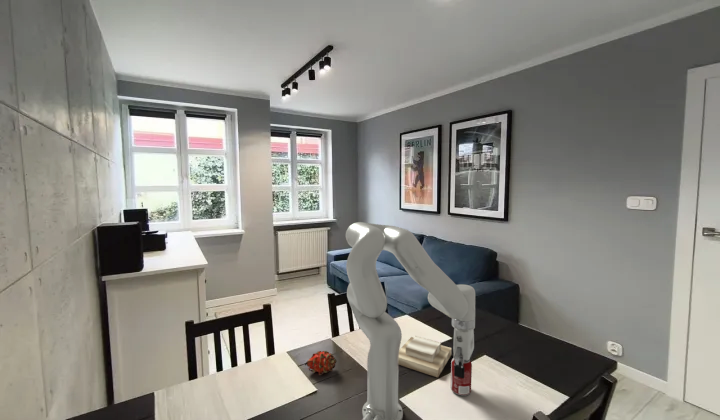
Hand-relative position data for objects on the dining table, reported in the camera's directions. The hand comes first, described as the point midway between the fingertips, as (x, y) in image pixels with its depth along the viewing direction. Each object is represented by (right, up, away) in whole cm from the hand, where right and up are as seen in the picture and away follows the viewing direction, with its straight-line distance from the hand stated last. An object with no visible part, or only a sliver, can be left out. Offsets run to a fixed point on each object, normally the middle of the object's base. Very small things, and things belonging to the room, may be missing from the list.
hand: (462, 369), depth 108 cm
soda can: (-1, -8, 0) cm, 8 cm away
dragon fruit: (-50, -7, +11) cm, 52 cm away
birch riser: (-10, -6, +20) cm, 23 cm away
